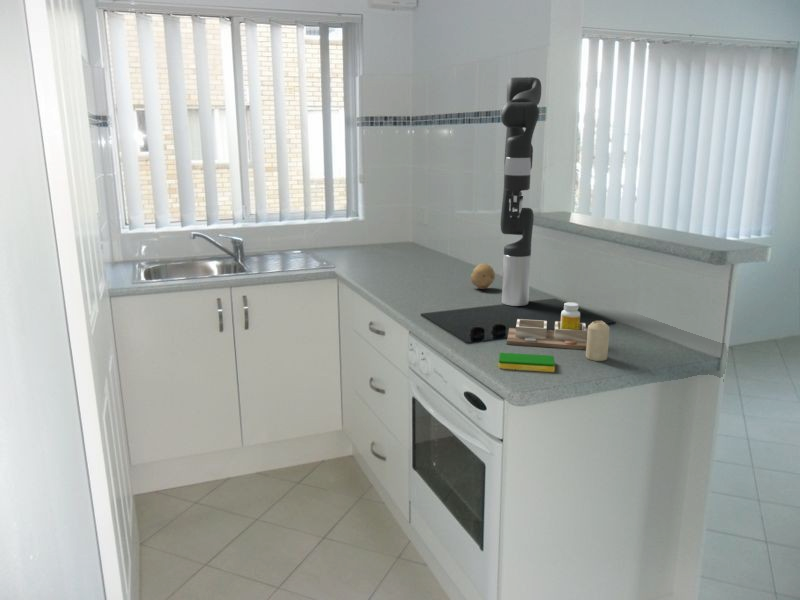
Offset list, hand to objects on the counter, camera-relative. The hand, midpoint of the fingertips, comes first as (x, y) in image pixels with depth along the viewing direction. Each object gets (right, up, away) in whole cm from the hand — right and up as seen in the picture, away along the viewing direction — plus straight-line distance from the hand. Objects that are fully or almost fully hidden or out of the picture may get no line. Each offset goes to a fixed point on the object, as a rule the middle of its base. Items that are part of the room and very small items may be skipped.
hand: (514, 228), depth 199 cm
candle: (+18, -37, -22) cm, 47 cm away
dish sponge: (-2, -39, -28) cm, 48 cm away
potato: (-3, -18, +54) cm, 57 cm away
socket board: (+9, -33, -7) cm, 35 cm away
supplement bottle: (+15, -32, -7) cm, 36 cm away
